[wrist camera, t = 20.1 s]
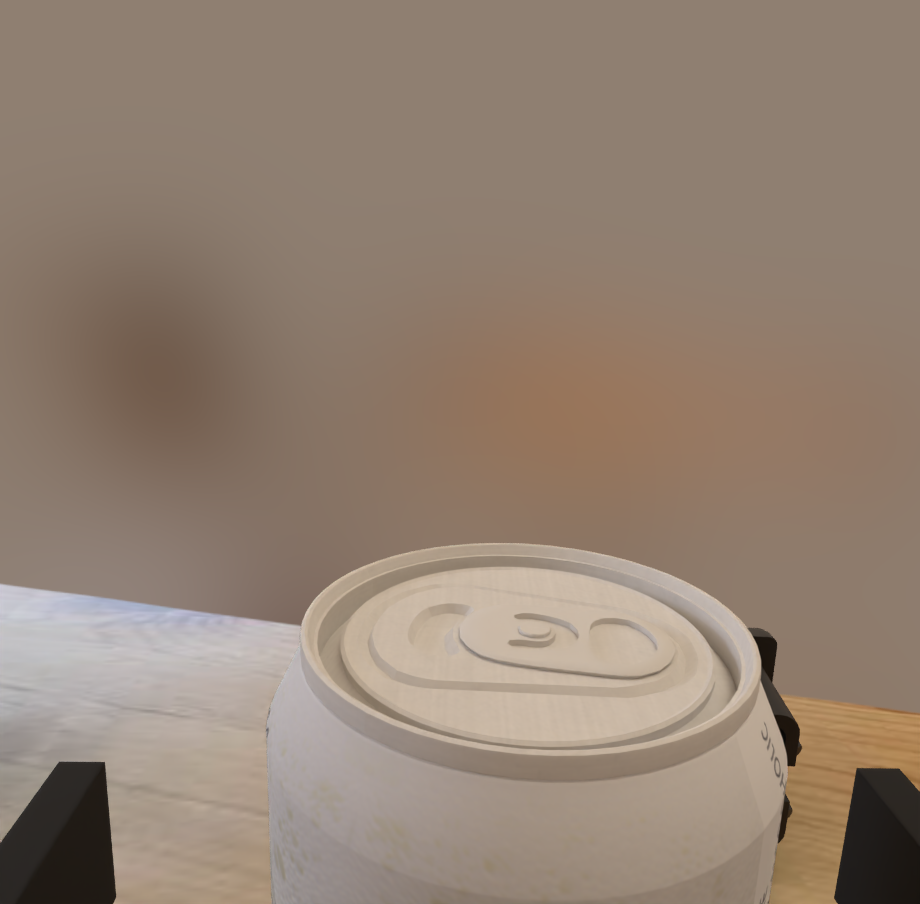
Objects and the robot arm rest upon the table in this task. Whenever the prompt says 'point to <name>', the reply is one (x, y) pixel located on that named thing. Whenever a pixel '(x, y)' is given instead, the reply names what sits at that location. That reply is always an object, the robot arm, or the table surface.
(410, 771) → the beer can
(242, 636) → the table surface
